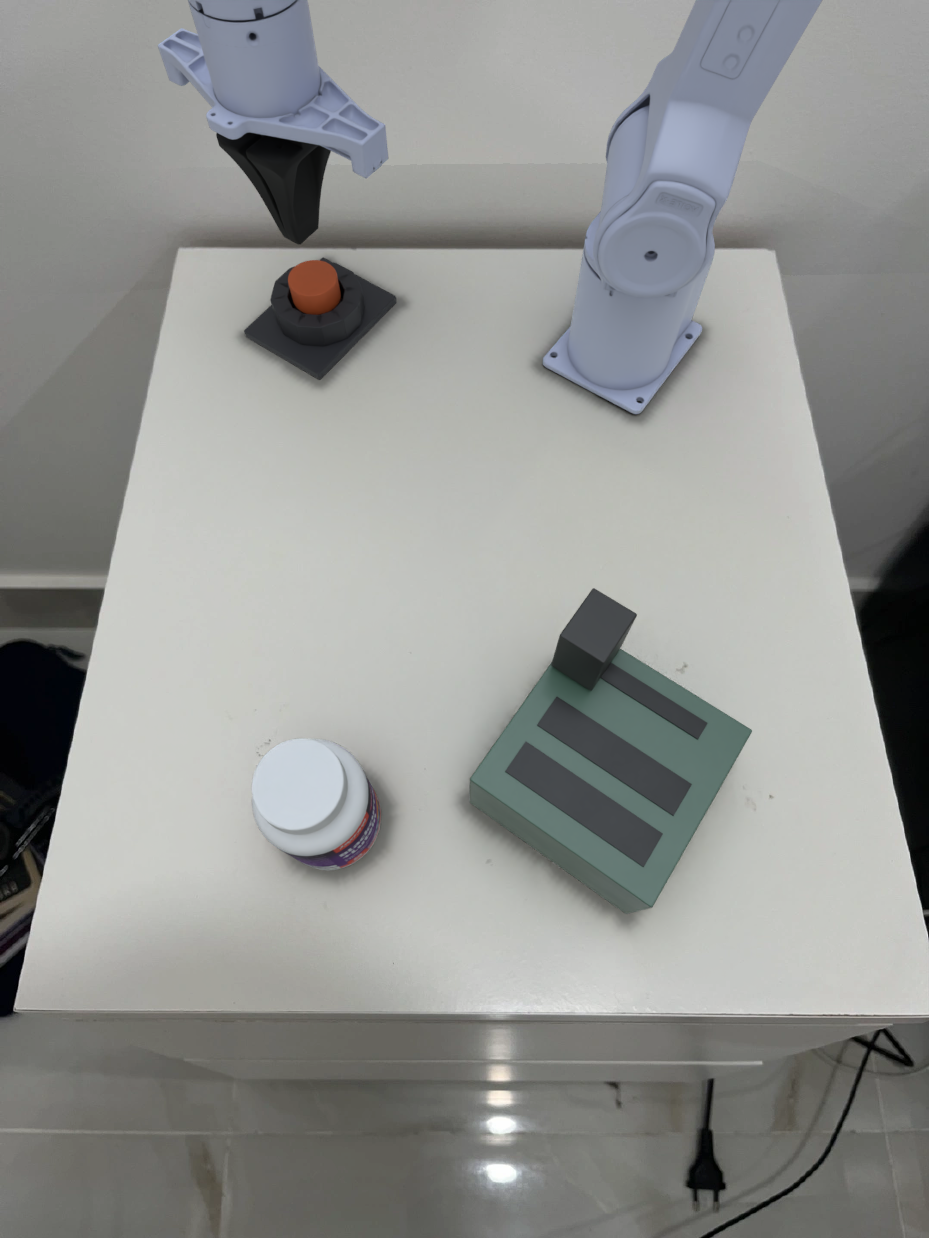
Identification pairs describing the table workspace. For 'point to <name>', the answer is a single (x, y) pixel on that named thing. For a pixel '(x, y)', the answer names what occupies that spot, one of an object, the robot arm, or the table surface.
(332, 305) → the button
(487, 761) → the toaster
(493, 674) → the table surface
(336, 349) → the control pad
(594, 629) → the toaster slider
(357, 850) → the pill bottle
